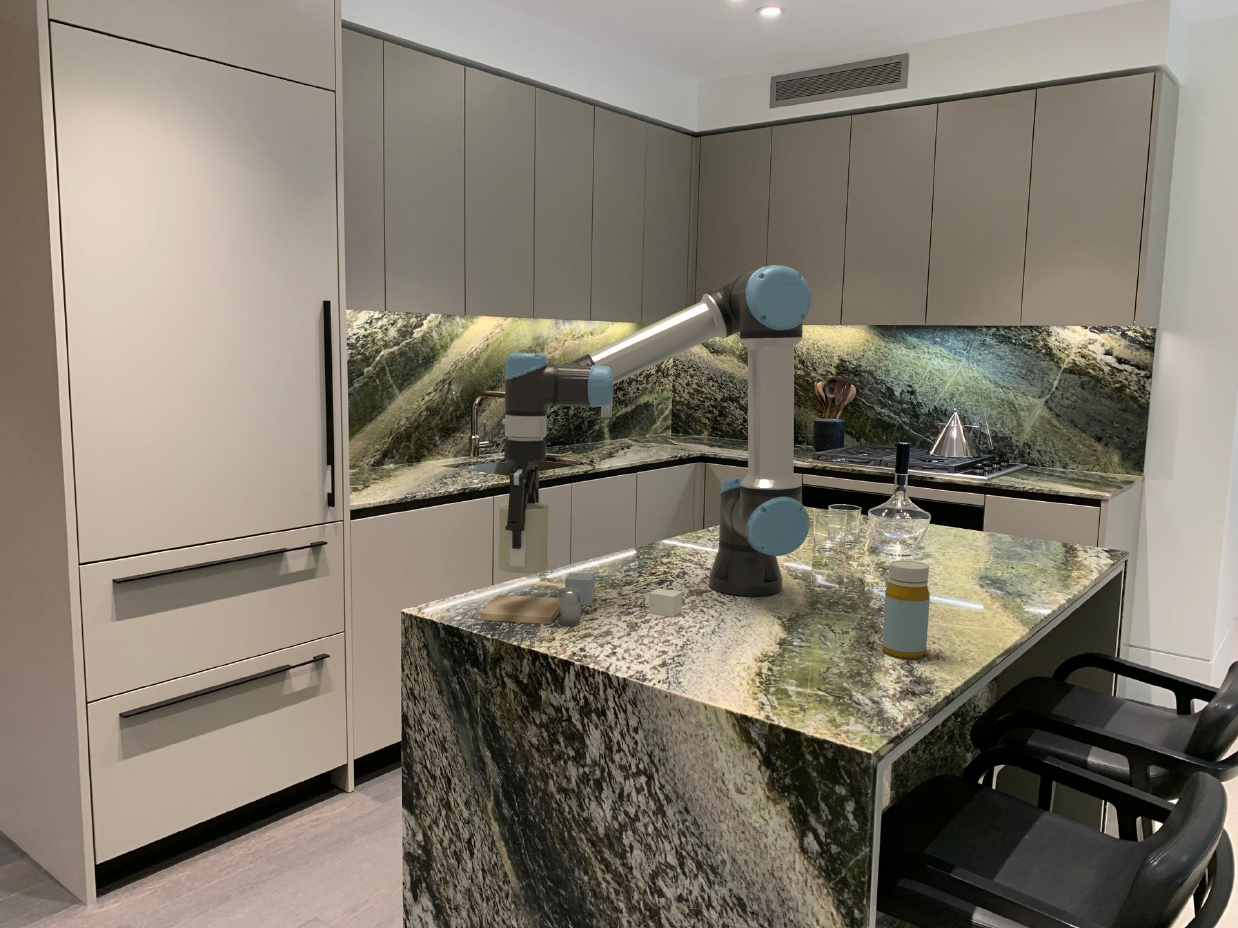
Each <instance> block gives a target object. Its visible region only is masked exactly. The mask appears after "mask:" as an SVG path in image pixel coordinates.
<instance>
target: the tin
mask: <svg viewBox="0 0 1238 928" xmlns="http://www.w3.org/2000/svg"><path fill="white" fill-rule="evenodd" d="M557 590H558V595H557V598H558V615H557V624H558V625H560V626H563V627H565V626H566V627H575V626H579V625H580V624H581V606H582V605H581V590H580V589H578V588H573V587H566V588H565V587H560V588H558V589H557Z"/></svg>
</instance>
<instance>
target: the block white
mask: <svg viewBox="0 0 1238 928" xmlns="http://www.w3.org/2000/svg"><path fill="white" fill-rule="evenodd" d="M682 609H683V591H679V590H672V589H665V588H659V587H658V588H656V589H654V590H652V591H650V592H649V593H648V614H652V615H656V616H657V615H658V616H664V617H670V618H674V617H676V616H677V615H679V614H681V613H682V612H683V610H682Z"/></svg>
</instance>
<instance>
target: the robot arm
mask: <svg viewBox="0 0 1238 928" xmlns="http://www.w3.org/2000/svg"><path fill="white" fill-rule="evenodd" d="M811 307H812V291H811V288H810V286H809V284H808V282H807V280H806V278H805V277H803V276H802V275H801V274H800V273H799V272H798V271H797V270H796V269H794V268H792V267H789V266H785V265H775V264H771V265H764V266H761V267H760V268H753V269H750V270H746V271H743V272H741V273H740V274H739V275H737V276H735V277H733V278H732V279H730V280H729V281H728V282H726V283H724V284H722V285H721V286H718V287H716V288H715V289H712V290H711V291H709V292H707V293H704V294H703V295H702V297H701V300H700V301H699V302H697V303H695V304H693V305H690V306H689V307H686V308H684V309H682V310H680V311H678V312H675V313H674V314H671V315H669V316H666V317H664V318H662V319H661V320H658V321H656V322H653V323H652V324H649V325H648V326H645V327H644V328H641V329H638V330H637V331H634V332H631V333H629V334H627V335H626V336H623V337H621V338H619V339H617V340H615V341H613V342H610V343H607V344H605V345H604V346H602V347H600V348H597V349H595V350H593V351H591V352H589V353H588V354H585V355H582V356H580V357H577V358H576V359H573V360H572V361H567V362H564V363H561V364H552V363H549V361H548V356H547V355H546V354H545V353H534V352H512V353H509V354H508V355H507V357H506V359H505V372H504V373H505V375H504V418H503V419H502V421H501V424H502V425H504V436H505V437H507V438H506V439H505V440H504V443H503V444H504V447H503V448H504V450H503V451H504V453H503V458H505V460H507V461H510V462H512V461H513V462H514V470H512V471H511V472H509V476H508V478H509V495H508V503H509V505H508V521H507V526H505V529H506V530H510V566H522V567H525V554H526V530H524V529H525V527H524V526H525V510H526V509H527V503H540V487H539V486H540V483H539V481H540V480H539V475H540V473H539V471H540V465H539V464H535V462H541V461H544V460H545V459H546V457H547V455H546V454H547V452H546V451H547V441H546V440H545V439H544V438H545V437H546V436H547V417H548V416H547V407H548V406H550V407H557V406H558V407H588V408H589V407H590V408H591V409H593V408H596V407H598V408H599V407H608V406H609V405H611V403H612V400H613V395H614V385H615V384H617V383H619V382H621V381H624V380H626V379H628V378H630V377H633V376H635V375H636V374H638V373H640V372H643V371H645V370H647V369H649V368H651V367H653V366H656V365H658V364H660V363H663V362H664V361H667V360H668V359H671V358H674V357H676V356H677V355H680V354H682V353H684V352H686V351H688V350H690V349H693V348H694V347H697V346H699V345H701V344H703V343H705V342H706V343H707V341H710V340H712V339H714V338H719V339H722V340H723V339H727V338H728V337H731V336H733V335H735V334H738V333H739V340H740V341H741V343H742V344H743V346H745V347H746V349H747V471H748V473H747V474H746V476H745V477H743V478H742V477H731V478H725V479H723V480H722V482H721V485H720V492H719V497H720V499H719V501H720V503H719V528H718V529H719V531H718V536H719V537H718V551H717V553H716V556H715V558H714V562H713V565H712V566H711V570H710V572H709V577H708V578H709V579H708V586H709V588H711V589H712V590H713V591H717V592H720V593H723V594H729V595H734V596H744V597H745V596H746V597H759V596H760V597H764V596H769V595H774V594H775V595H776V594H778V593H780V592H781V591H782V590H783V576H782V573H781V569H780V565H779V561H778V558H777V557H782V556H787V555H789V554H791V553H793V552H795V551H796V550H797V549H799V548H800V547H801V546H802V545H803V544H804V543H805V541H806V539H807V537H808V535H809V532H810V528H811V527H810V524H811V521H810V516H809V513H808V511H807V509H806V507H805V506H804V504H803V503H802V499H803V497H802V496H803V495H802V489H803V488H802V482H801V480H800V479H798V478H797V477H796V475H795V473H794V470H795V469H794V467H795V466H794V464H795V463H794V461H795V460H794V458H795V457H794V454H795V452H794V450H795V449H794V446H795V445H794V444H795V443H794V442H795V441H794V440H795V434H794V433H795V430H794V428H795V427H794V426H795V422H794V419H795V414H794V410H795V405H794V404H795V383H794V382H795V348H796V346H797V345H798V344H799V343H800V342H801V341H802V340H803V327H804V326H803V323H804V322H803V321H805V320H806V317H807V316H808V314H809V312H810V310H811Z"/></svg>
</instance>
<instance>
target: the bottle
mask: <svg viewBox="0 0 1238 928" xmlns="http://www.w3.org/2000/svg"><path fill="white" fill-rule="evenodd" d="M888 569H889V573H888V583H887V586H886V589H885V594H884V608H883V611H884V612H883V626H882V645H881V646H882V650H883V651H884V652H885V653H886V654H887V655H889V656H891V657H894V658H900V659H907V660H911V659H912V660H913V659H919V658H921V657H923V656H924V655H925V654H926V652H927V647H928V645H927V644H928V629H929V628H928V627H929V616H930V615H929V614H930V613H929V611H930V595H931V594H930V590H929V587H928V583H929V581H928V580H929V572H930V570H929V569H930V567H929V564H926V563H925V562H920V561H915V560H906V559H905V560H904V559H903V560H901V559H900V560H892V561H890V562H889V568H888Z"/></svg>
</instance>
